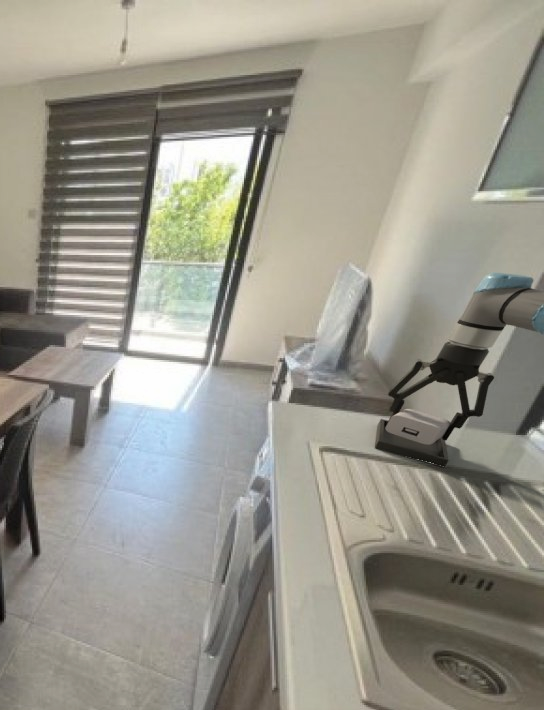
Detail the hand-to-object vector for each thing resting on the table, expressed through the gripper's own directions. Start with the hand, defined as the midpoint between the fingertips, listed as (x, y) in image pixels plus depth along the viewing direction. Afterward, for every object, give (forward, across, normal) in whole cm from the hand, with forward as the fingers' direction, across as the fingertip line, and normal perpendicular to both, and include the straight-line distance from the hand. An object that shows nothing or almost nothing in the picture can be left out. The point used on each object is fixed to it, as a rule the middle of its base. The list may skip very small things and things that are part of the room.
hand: (415, 431), depth 121 cm
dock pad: (+4, 0, 0) cm, 4 cm away
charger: (0, 0, 0) cm, 0 cm away
